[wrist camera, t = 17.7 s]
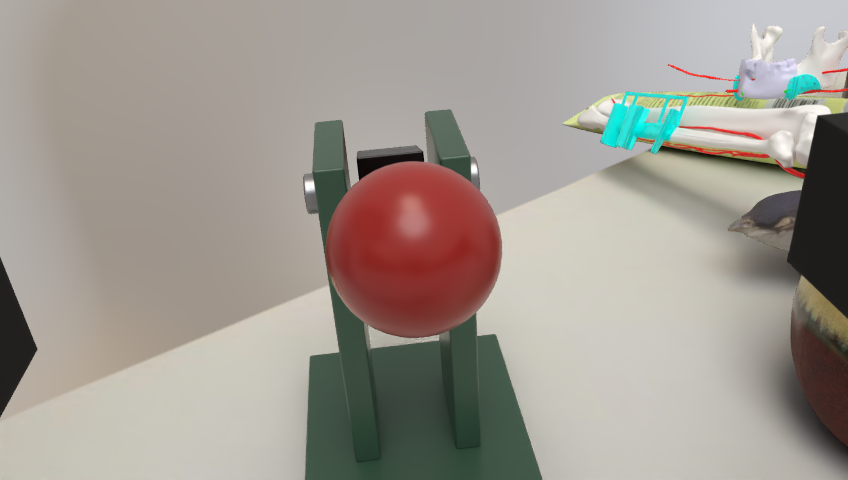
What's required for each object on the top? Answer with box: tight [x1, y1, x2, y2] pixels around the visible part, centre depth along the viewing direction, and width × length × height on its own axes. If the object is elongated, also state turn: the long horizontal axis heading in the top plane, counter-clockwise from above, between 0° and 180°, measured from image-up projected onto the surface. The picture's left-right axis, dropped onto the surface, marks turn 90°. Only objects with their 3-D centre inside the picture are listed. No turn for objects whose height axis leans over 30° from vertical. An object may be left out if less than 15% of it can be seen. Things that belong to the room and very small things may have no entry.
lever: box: [326, 146, 502, 338], centre depth 20 cm, size 14×4×4 cm, turn 6°
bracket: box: [303, 110, 542, 480], centre depth 29 cm, size 10×9×14 cm
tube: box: [562, 92, 848, 169], centre depth 56 cm, size 6×5×20 cm
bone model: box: [577, 24, 848, 179], centre depth 47 cm, size 25×19×10 cm
